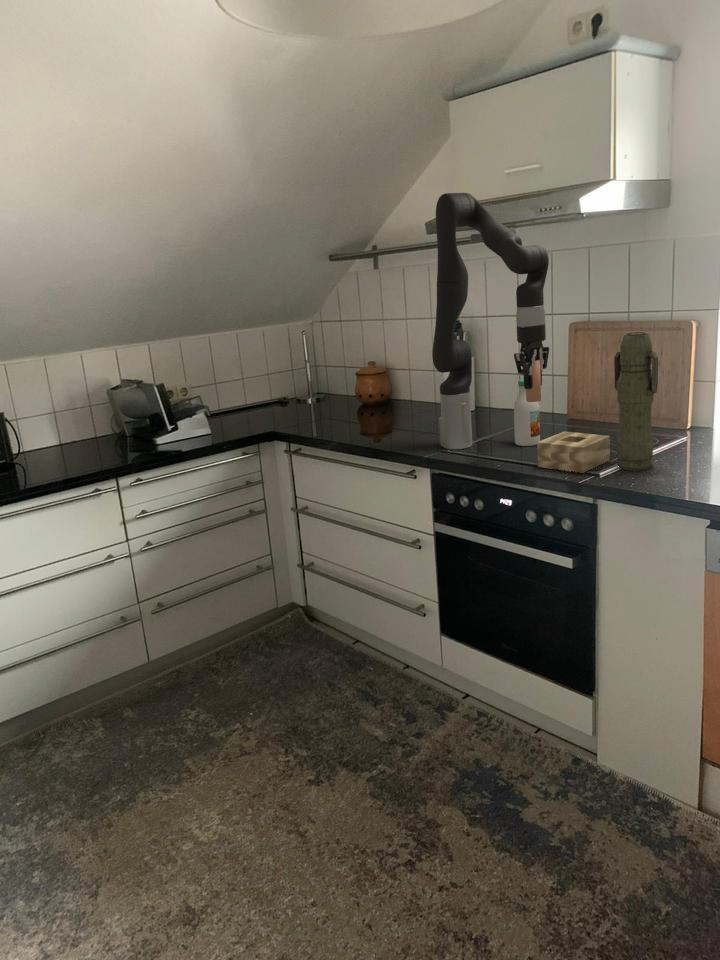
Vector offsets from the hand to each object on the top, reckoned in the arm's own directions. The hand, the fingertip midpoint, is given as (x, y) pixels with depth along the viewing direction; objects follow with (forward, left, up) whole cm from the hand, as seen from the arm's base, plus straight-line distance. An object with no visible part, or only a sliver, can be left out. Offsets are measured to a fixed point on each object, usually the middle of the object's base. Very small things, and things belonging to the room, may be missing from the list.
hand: (533, 387), depth 203 cm
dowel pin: (0, 0, -4) cm, 4 cm away
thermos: (+24, +10, -22) cm, 34 cm away
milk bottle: (-15, +19, -22) cm, 32 cm away
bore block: (+9, +5, -22) cm, 24 cm away
